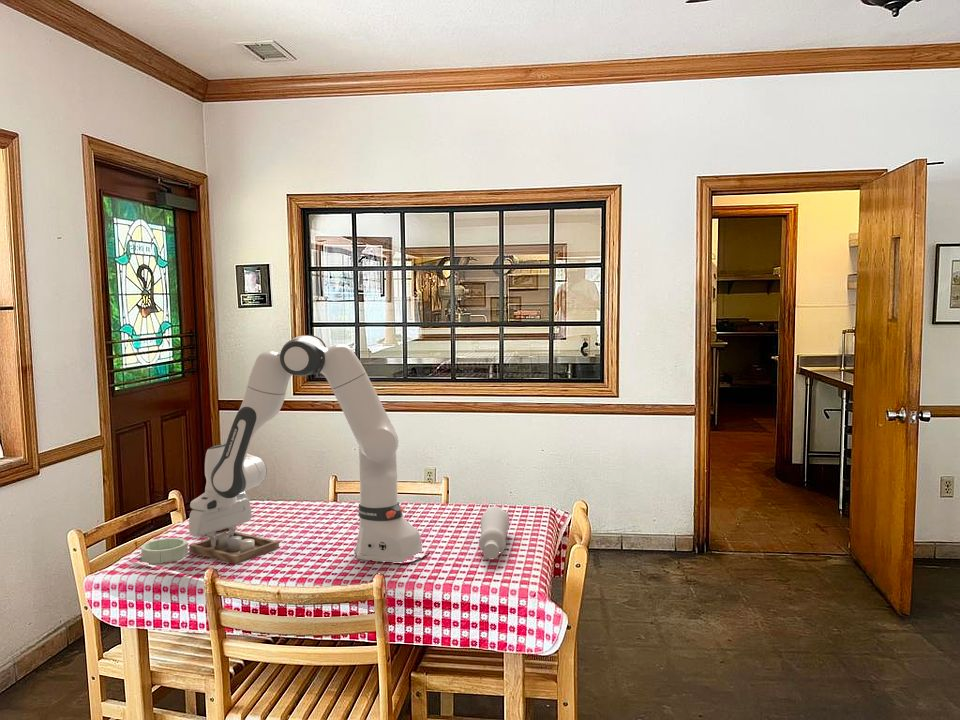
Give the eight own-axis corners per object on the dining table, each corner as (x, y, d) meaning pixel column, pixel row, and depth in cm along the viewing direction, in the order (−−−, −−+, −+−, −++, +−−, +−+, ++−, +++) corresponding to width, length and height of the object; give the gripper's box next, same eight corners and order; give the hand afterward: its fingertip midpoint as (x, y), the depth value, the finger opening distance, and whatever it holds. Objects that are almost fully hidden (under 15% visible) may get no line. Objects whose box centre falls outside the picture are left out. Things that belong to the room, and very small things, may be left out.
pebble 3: (257, 552, 207) (257, 540, 207) (246, 556, 203) (246, 543, 203) (248, 550, 209) (247, 538, 209) (237, 553, 205) (237, 541, 205)
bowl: (196, 555, 206) (195, 542, 206) (159, 567, 195) (158, 553, 195) (170, 548, 212) (169, 535, 212) (132, 560, 202) (132, 546, 201)
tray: (279, 549, 211) (278, 541, 211) (235, 565, 197) (235, 556, 197) (233, 539, 221) (233, 531, 221) (189, 553, 207) (189, 545, 207)
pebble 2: (244, 549, 210) (244, 537, 209) (233, 552, 206) (233, 540, 206) (235, 546, 212) (235, 535, 212) (224, 550, 208) (224, 538, 208)
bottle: (476, 521, 229) (468, 555, 199) (491, 499, 228) (486, 529, 198) (499, 537, 229) (495, 573, 199) (515, 515, 228) (513, 547, 198)
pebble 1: (232, 546, 212) (232, 534, 212) (220, 549, 209) (220, 537, 209) (223, 543, 215) (223, 532, 214) (212, 547, 211) (212, 535, 211)
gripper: (241, 489, 221) (242, 532, 222) (185, 503, 204) (186, 550, 205) (255, 491, 218) (256, 535, 219) (199, 506, 201) (200, 554, 201)
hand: (222, 543), depth 212 cm, fingers closed on pebble 1, 4 cm apart
